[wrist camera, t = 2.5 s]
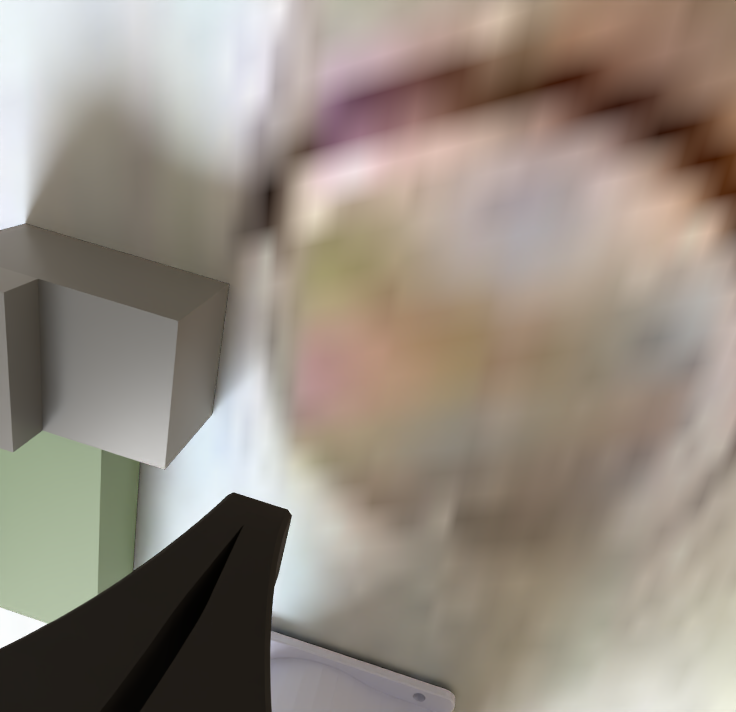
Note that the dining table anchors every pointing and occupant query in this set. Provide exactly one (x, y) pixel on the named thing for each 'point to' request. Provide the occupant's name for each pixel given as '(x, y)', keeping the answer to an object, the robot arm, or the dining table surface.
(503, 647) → the dining table surface
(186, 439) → the grey stepped block
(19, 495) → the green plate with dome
